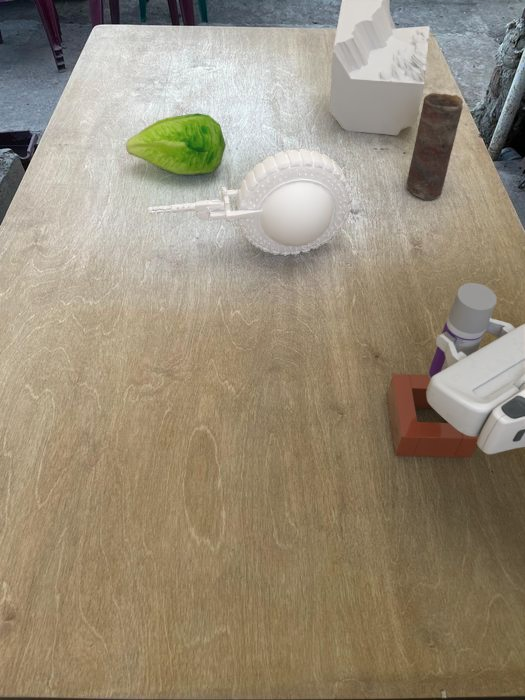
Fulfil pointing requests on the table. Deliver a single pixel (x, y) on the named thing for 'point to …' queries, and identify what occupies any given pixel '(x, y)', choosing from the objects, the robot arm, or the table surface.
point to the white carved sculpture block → (376, 69)
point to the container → (466, 322)
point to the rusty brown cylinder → (434, 144)
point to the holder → (421, 423)
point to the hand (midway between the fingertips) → (458, 326)
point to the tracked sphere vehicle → (283, 203)
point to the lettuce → (181, 144)
